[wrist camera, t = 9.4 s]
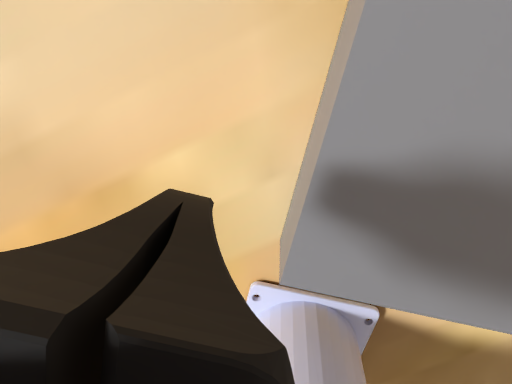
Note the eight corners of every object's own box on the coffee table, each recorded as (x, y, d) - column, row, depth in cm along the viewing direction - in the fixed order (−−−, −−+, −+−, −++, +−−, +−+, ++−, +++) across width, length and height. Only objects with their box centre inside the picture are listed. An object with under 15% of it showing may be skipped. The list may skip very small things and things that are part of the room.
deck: (513, 290, 23) (555, 343, 20) (280, 239, 23) (279, 284, 19) (782, -130, 14) (948, -174, 11) (413, -227, 14) (458, -306, 10)
